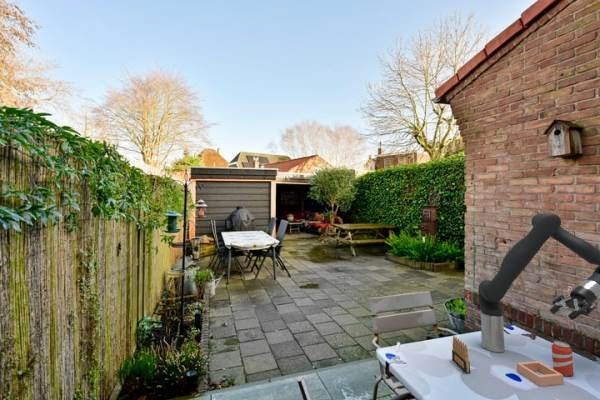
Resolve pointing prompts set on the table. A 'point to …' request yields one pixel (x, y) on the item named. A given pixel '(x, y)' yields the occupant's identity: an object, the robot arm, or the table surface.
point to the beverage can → (562, 358)
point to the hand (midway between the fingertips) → (560, 315)
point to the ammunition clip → (460, 355)
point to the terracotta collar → (541, 380)
